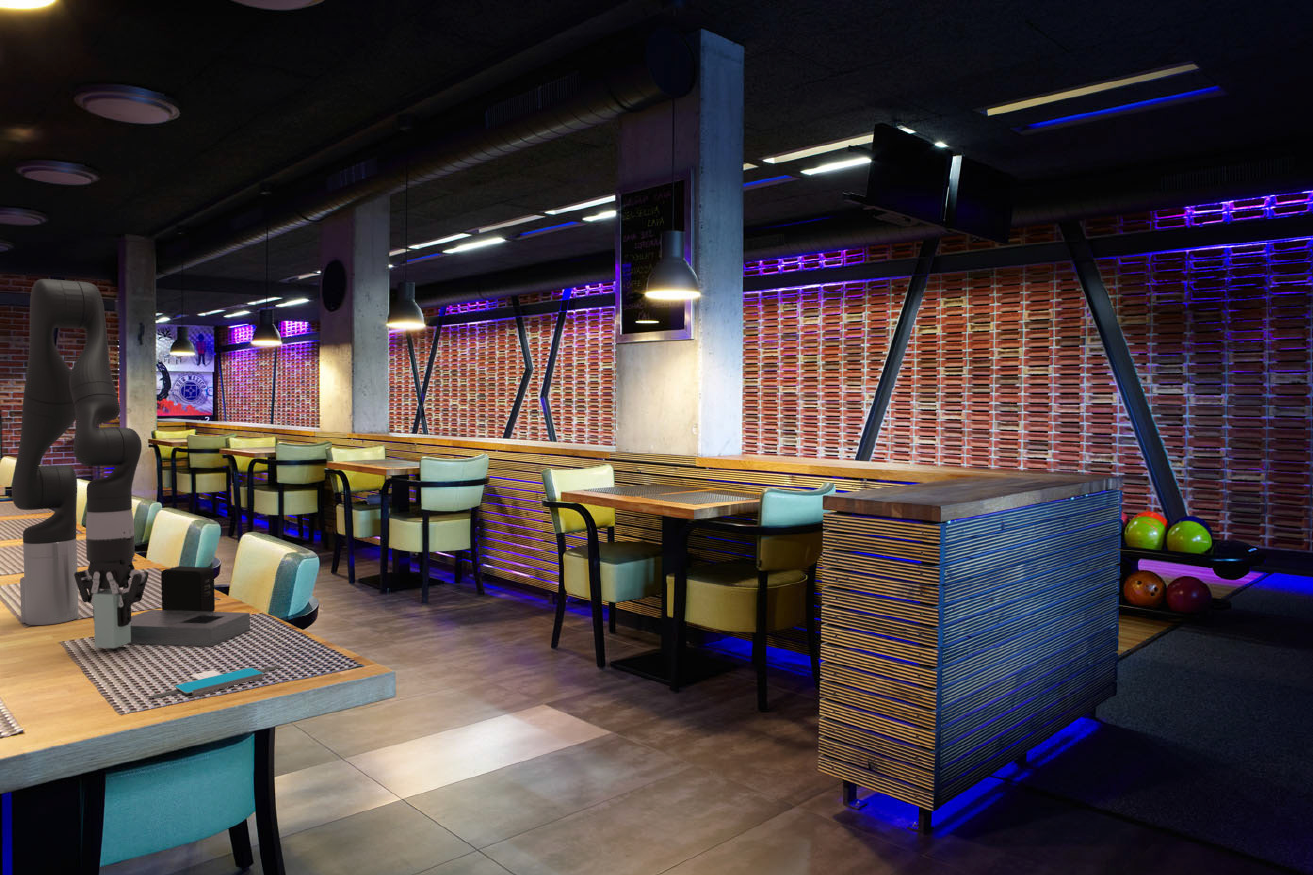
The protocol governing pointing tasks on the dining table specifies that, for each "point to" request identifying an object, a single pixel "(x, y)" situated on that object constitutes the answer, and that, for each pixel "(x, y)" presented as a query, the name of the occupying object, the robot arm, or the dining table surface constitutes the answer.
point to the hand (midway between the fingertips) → (112, 624)
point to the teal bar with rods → (216, 681)
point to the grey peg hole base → (187, 627)
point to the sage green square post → (108, 622)
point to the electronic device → (188, 589)
